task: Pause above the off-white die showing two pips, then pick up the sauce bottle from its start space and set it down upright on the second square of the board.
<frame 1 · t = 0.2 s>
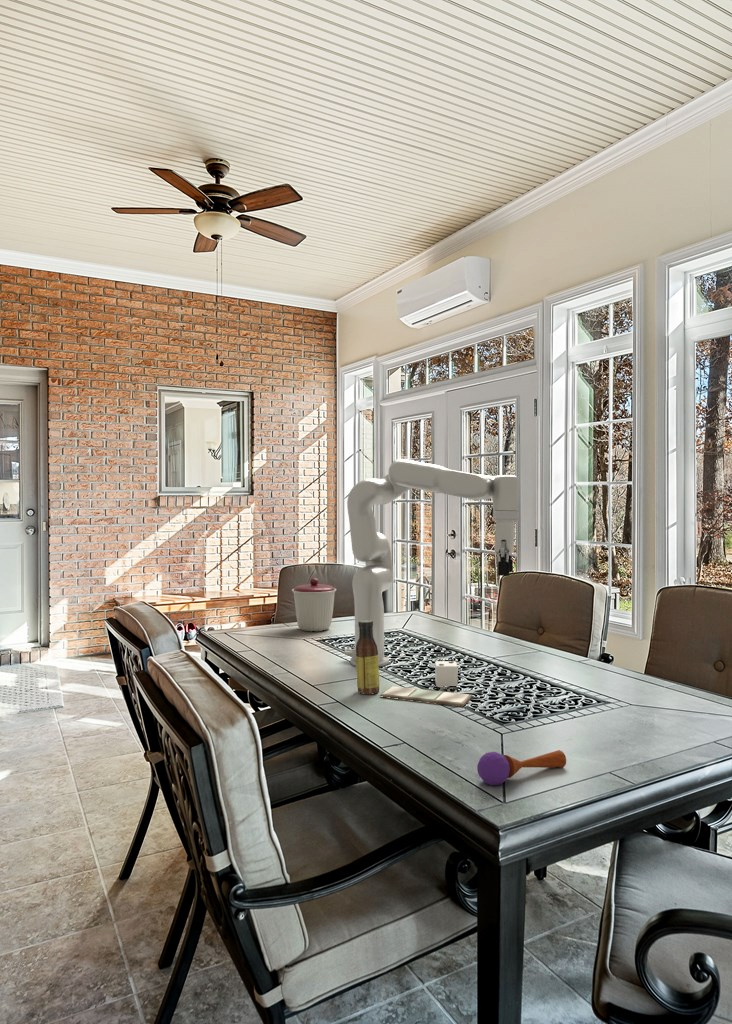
hand: (505, 573, 207), 31 cm above the table, tool pointing down, fingers open, 9 cm apart
kendama: (522, 777, 134), on the table
sauce bottle: (367, 692, 192), on the table
board: (425, 697, 186), on the table
canister: (314, 629, 282), on the table
die: (446, 684, 200), on the table
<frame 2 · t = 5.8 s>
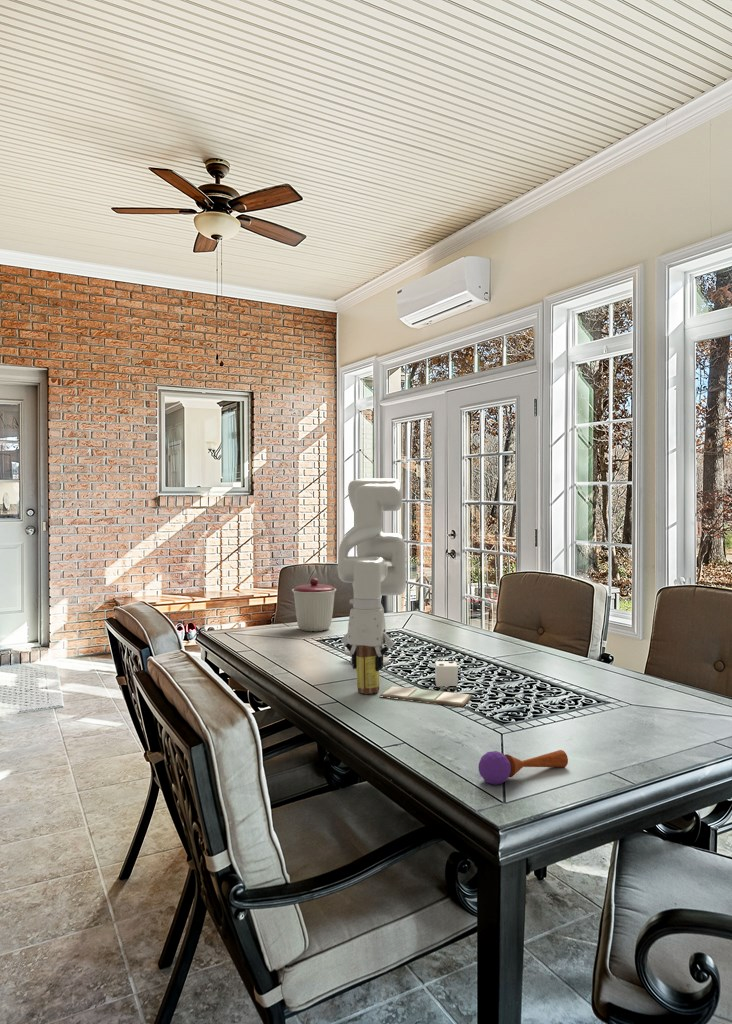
hand: (367, 668, 192), 7 cm above the table, tool pointing down, fingers closed on sauce bottle, 6 cm apart
sauce bottle: (367, 692, 192), on the table, touching gripper
everything else where it was.
when the fingers open (9 cm above the table, at t = 11.7 s): sauce bottle drops 1 cm, resting on board.
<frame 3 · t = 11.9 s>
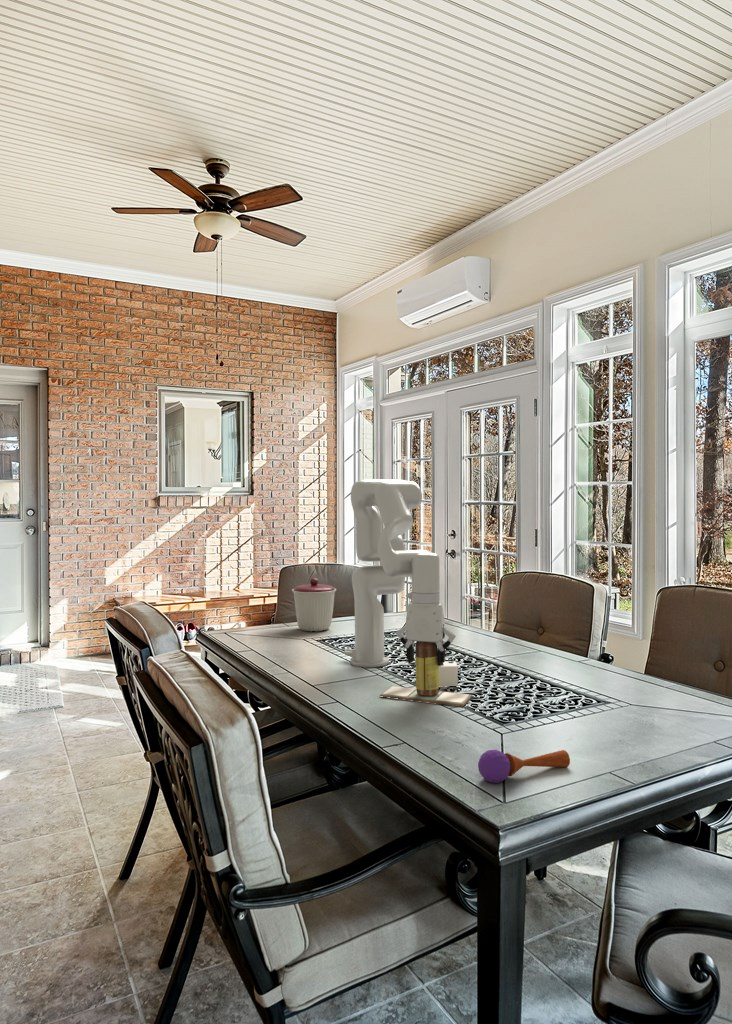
hand: (425, 663, 186), 9 cm above the table, tool pointing down, fingers open, 7 cm apart
sauce bottle: (426, 694, 186), point 1 cm above the table, touching board
everything else where it was.
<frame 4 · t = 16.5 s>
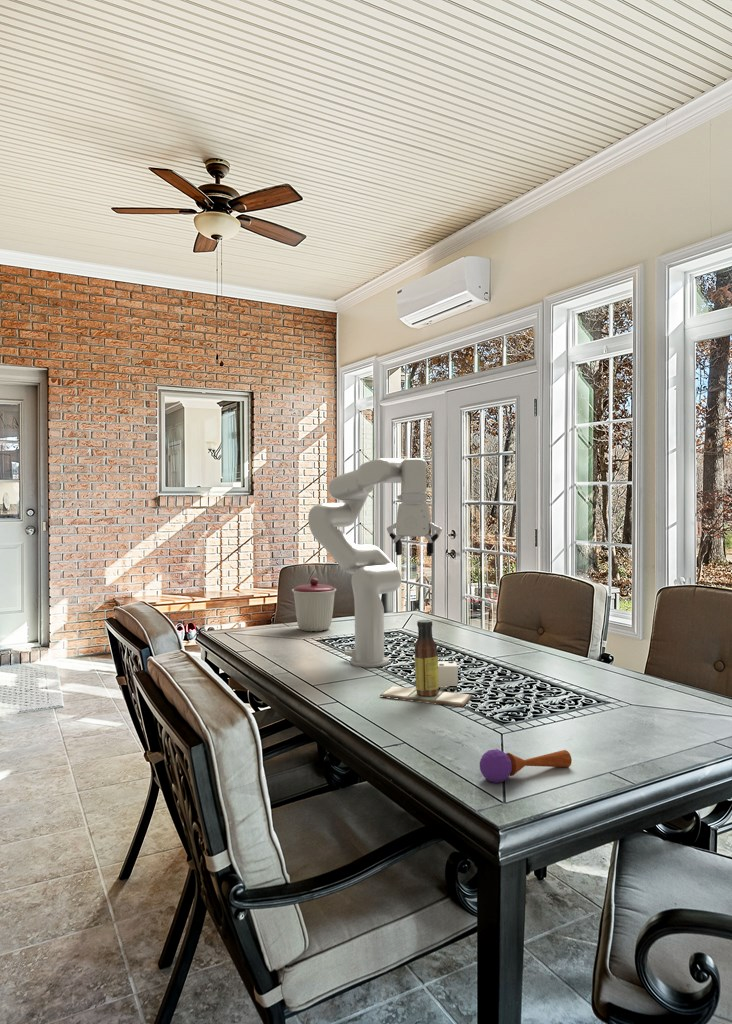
hand: (414, 555, 210), 36 cm above the table, tool pointing down, fingers open, 9 cm apart
at the end: sauce bottle 0.3 cm off-centre on the board, point 0.7 cm above the board's base; sauce bottle tilted 0°; the gripper is holding nothing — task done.
